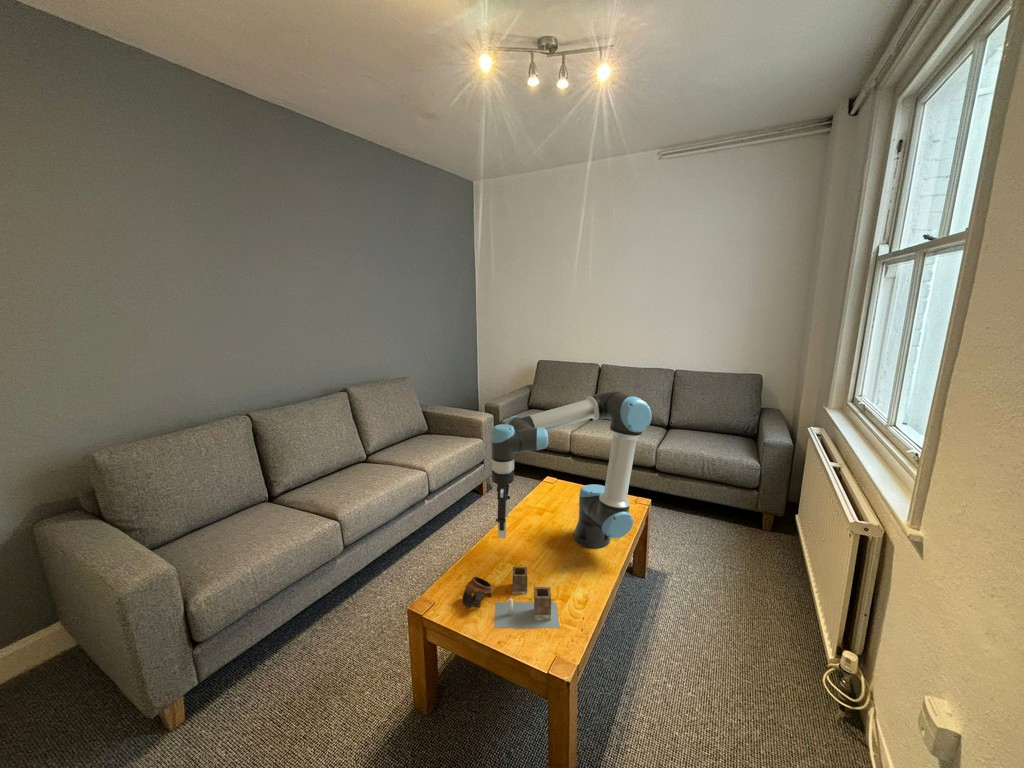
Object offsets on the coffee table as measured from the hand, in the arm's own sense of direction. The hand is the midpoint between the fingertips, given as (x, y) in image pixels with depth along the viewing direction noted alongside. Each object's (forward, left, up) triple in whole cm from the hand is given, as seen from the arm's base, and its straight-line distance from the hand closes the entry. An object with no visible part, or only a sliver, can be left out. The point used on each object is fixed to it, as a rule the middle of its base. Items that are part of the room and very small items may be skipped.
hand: (503, 526), depth 146 cm
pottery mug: (+9, +11, -22) cm, 26 cm away
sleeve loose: (-6, +6, -21) cm, 23 cm away
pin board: (-8, +18, -21) cm, 29 cm away
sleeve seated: (-13, +18, -20) cm, 30 cm away
